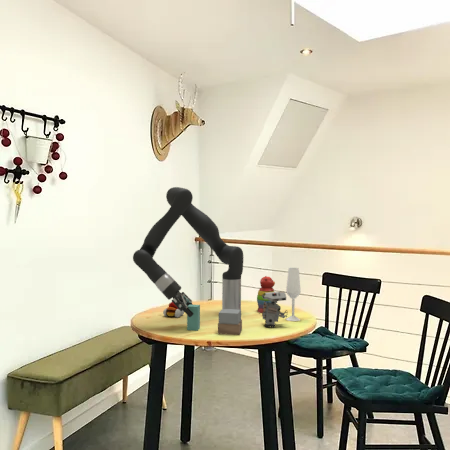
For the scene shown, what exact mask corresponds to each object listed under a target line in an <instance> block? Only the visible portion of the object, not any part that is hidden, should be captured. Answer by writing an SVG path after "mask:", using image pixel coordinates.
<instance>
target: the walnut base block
mask: <svg viewBox="0 0 450 450" xmlns="http://www.w3.org/2000/svg"><path fill="white" fill-rule="evenodd" d="M242 330H243V319H241V321H240V322H239V324H238V325H236V324H219V322H218V323H217V335H227V336H228V335H233V336H240V335H241V333H242Z"/></svg>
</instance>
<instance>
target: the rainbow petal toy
mask: <svg viewBox="0 0 450 450" xmlns="http://www.w3.org/2000/svg"><path fill="white" fill-rule="evenodd" d="M162 312H163V313H162V314H163V316H164V317H168V316H169V317H173V316H174V317H175V318H180V317H181V316H183V315H184V314H185V312H184V311H180V310H179V309H178V307H177V306H176V305H175V304H174V303H173V302H172V301H171V302H169V304H168V306H167V308H164V310H163V311H162Z"/></svg>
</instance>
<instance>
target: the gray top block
mask: <svg viewBox="0 0 450 450" xmlns="http://www.w3.org/2000/svg"><path fill="white" fill-rule="evenodd" d="M241 320H242V309H241V310H236V309H222V308H221V310H219V312H218V323H219V324H236V325H238V324H239V322H240V321H241Z"/></svg>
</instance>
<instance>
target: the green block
mask: <svg viewBox="0 0 450 450" xmlns="http://www.w3.org/2000/svg"><path fill="white" fill-rule="evenodd" d="M187 308H189V309H190V310H191V311H192V312H193V315H192V316H191V317H189V316H188V315H187V314H186V324H187V325H186V330H187V331H199V330H200V328H201V304H193V305H190V304H189V305H188V306H187Z"/></svg>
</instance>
